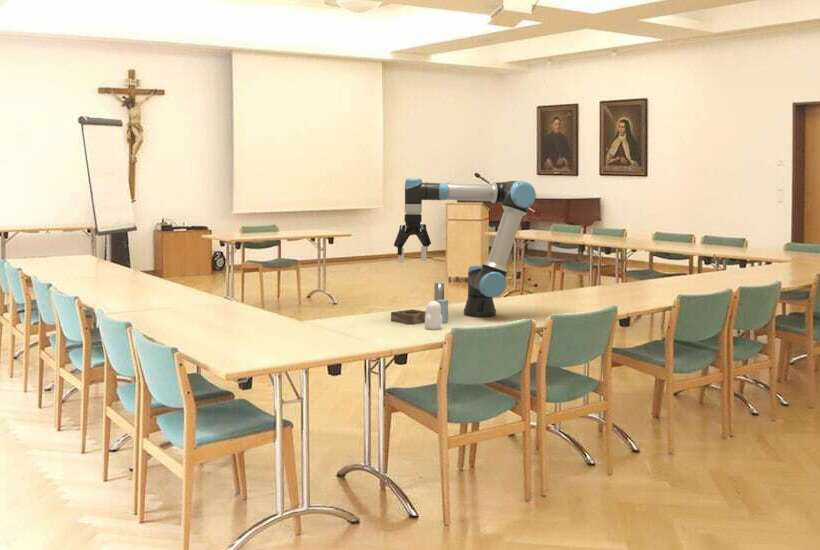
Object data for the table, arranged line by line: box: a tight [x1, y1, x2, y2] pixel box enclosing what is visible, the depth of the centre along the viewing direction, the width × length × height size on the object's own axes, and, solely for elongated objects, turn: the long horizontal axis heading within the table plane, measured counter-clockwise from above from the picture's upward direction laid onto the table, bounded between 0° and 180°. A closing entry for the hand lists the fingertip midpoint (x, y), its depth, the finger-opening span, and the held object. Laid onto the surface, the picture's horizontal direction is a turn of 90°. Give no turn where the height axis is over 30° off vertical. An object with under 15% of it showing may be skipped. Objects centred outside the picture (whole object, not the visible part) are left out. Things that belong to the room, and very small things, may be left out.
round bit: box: [433, 282, 445, 301], centre depth 406 cm, size 4×4×16 cm
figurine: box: [424, 300, 442, 331], centre depth 380 cm, size 7×8×12 cm
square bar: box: [436, 299, 449, 325], centre depth 395 cm, size 4×4×10 cm
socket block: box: [390, 308, 426, 326], centre depth 398 cm, size 13×13×4 cm
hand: (412, 261), depth 395 cm, fingers open, 13 cm apart
